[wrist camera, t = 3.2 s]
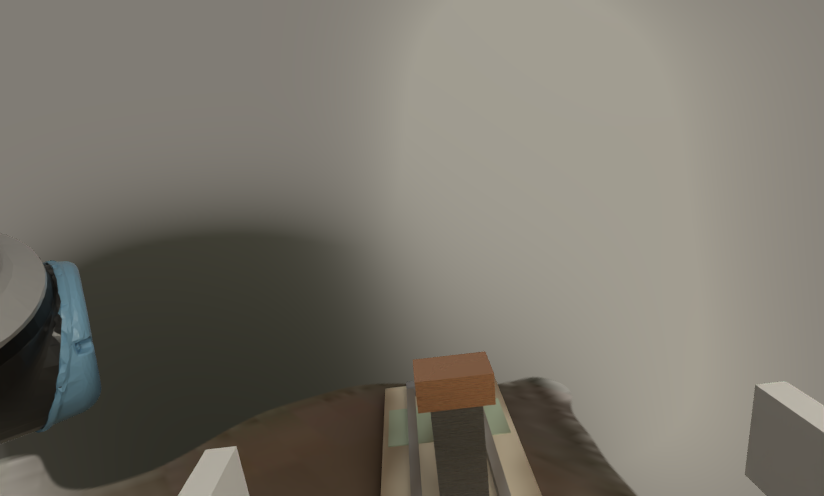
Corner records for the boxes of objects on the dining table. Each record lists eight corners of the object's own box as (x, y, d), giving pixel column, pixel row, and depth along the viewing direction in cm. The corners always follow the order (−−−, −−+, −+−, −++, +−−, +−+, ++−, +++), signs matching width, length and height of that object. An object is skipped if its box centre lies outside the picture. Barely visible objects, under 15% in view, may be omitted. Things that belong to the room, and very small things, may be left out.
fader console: (378, 670, 24) (371, 629, 23) (387, 404, 47) (383, 379, 46) (591, 645, 24) (591, 603, 23) (495, 392, 47) (493, 366, 46)
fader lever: (433, 564, 27) (410, 382, 23) (430, 530, 29) (409, 360, 26) (508, 555, 27) (497, 372, 23) (499, 522, 29) (488, 351, 26)
